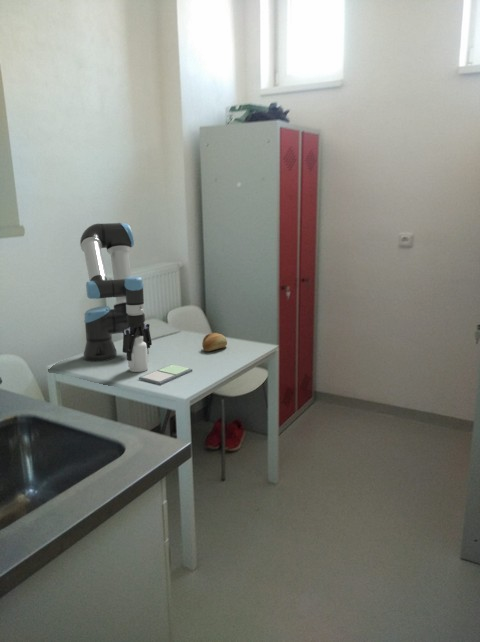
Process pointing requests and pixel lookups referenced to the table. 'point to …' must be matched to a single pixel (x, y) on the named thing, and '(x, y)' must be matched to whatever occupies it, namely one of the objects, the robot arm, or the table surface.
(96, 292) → the robot arm
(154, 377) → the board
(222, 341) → the bread roll
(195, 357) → the table surface
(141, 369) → the pill bottle
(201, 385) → the table surface
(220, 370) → the table surface
